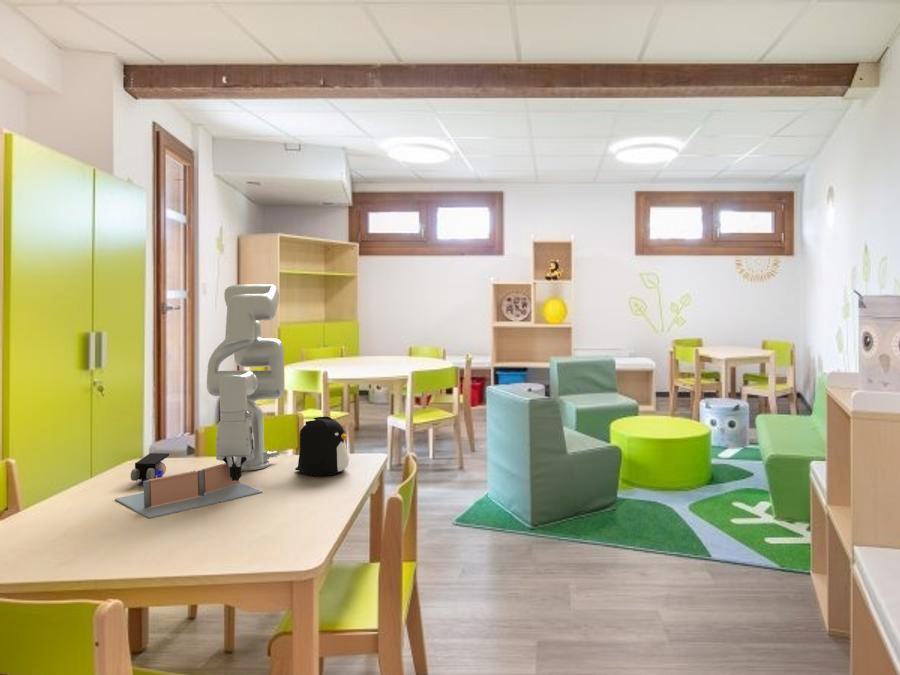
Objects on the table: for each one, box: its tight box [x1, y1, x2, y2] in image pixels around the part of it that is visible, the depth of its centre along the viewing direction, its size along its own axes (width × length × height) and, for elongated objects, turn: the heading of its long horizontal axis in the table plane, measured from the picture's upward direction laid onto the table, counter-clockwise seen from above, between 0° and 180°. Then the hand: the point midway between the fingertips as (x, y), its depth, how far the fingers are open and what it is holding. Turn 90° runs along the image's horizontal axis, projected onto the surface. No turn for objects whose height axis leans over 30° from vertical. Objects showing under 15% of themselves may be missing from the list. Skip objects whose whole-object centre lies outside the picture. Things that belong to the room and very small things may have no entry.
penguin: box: [295, 416, 350, 477], centre depth 225 cm, size 18×18×17 cm
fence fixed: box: [142, 469, 204, 508], centre depth 194 cm, size 16×2×8 cm, turn 134°
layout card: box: [114, 482, 263, 519], centre depth 200 cm, size 32×24×1 cm
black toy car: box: [130, 452, 170, 487], centre depth 217 cm, size 7×8×15 cm
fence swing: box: [201, 461, 240, 493], centre depth 205 cm, size 12×2×7 cm, turn 147°
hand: (236, 479), depth 206 cm, fingers closed
